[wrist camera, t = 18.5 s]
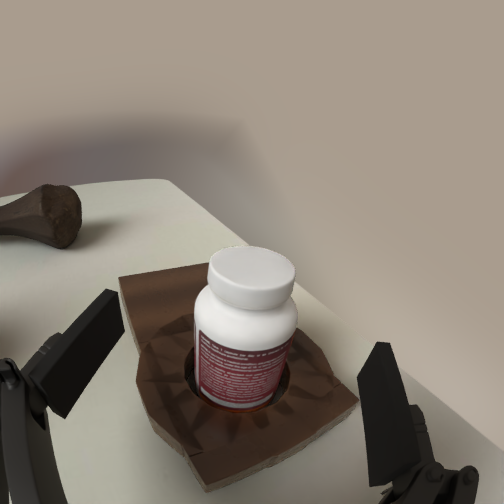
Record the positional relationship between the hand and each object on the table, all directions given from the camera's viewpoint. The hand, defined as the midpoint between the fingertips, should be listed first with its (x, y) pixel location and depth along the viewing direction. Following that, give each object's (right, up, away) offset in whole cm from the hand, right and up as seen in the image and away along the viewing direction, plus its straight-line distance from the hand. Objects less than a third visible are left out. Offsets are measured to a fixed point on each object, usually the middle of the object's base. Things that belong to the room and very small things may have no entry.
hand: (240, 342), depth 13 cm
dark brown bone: (-39, +5, +19) cm, 44 cm away
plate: (-3, -4, +10) cm, 11 cm away
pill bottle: (-1, -6, +7) cm, 9 cm away
